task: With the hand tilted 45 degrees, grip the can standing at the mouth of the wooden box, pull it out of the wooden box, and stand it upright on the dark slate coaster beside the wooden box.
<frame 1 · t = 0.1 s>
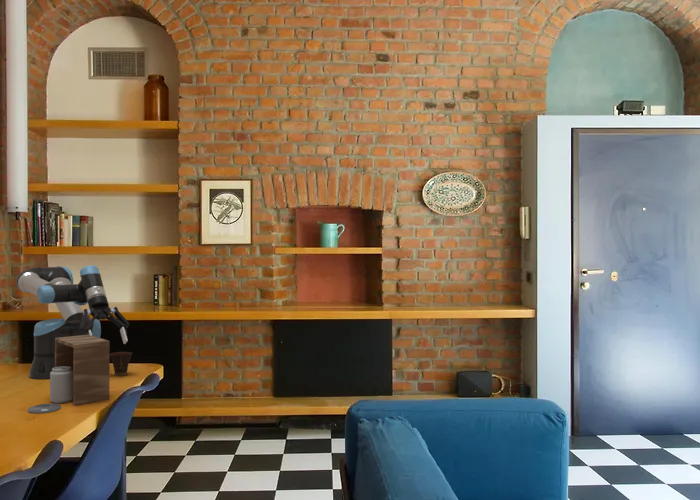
hand: (109, 344, 244), 15 cm above the table, tool tilted 35°, fingers open, 13 cm apart
coaster: (44, 409, 204), on the table
can: (61, 401, 215), on the table
wooden box: (81, 397, 220), on the table
candle: (79, 395, 224), on the table
cup: (120, 375, 257), on the table
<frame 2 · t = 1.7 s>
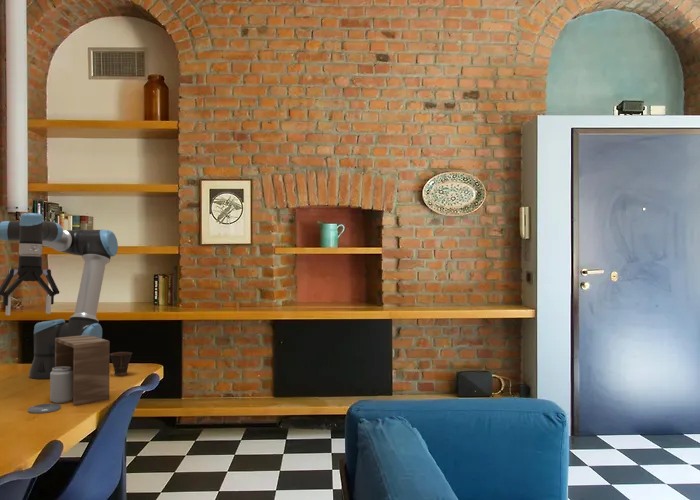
hand: (28, 314, 219), 30 cm above the table, tool pointing down, fingers open, 13 cm apart
nothing on the table moved.
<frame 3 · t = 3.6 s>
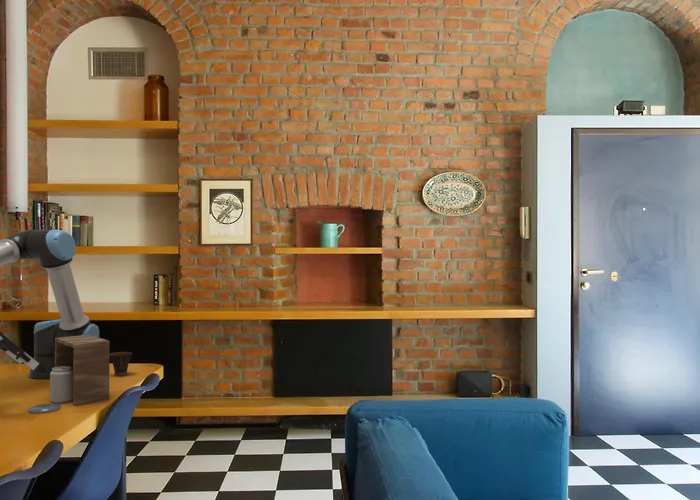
hand: (29, 363, 207), 15 cm above the table, tool tilted 45°, fingers open, 13 cm apart
nothing on the table moved.
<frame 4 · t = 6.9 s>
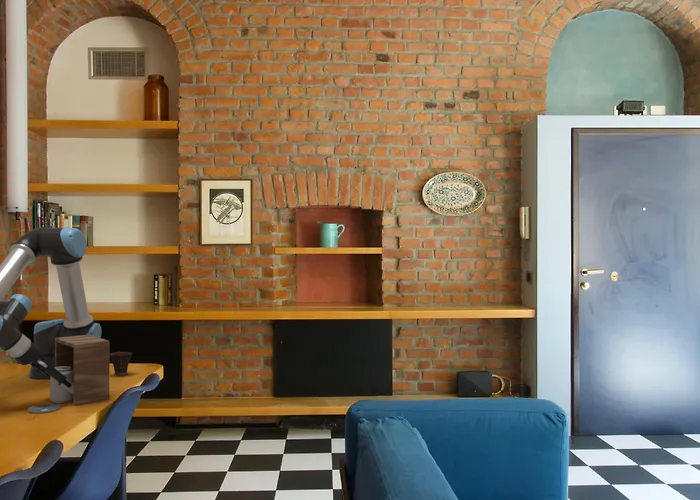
hand: (71, 389, 217), 4 cm above the table, tool tilted 45°, fingers closed on can, 7 cm apart
can: (61, 401, 215), on the table, touching gripper
everything else where it was.
when the fingers open (6 cm above the table, at t = 12.5 s): can drops 1 cm, resting on coaster.
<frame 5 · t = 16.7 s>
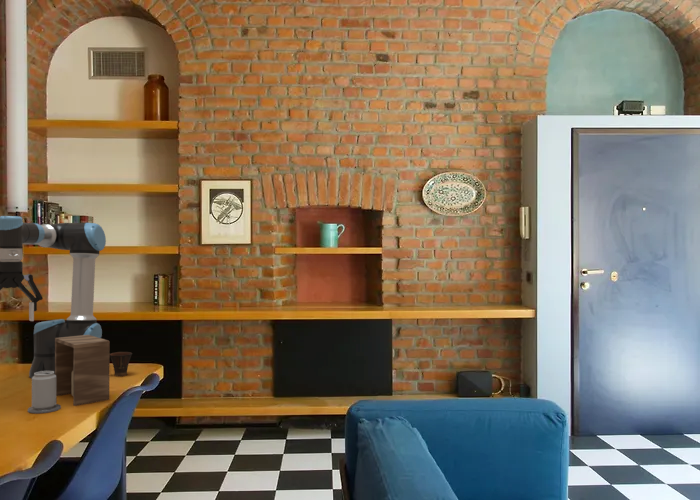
hand: (10, 322, 208), 29 cm above the table, tool pointing down, fingers open, 13 cm apart
can: (44, 408, 204), resting on coaster
everything else where it was.
at the end: can 0.2 cm from the coaster (horizontally); can tilted 0°; can resting on coaster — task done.
